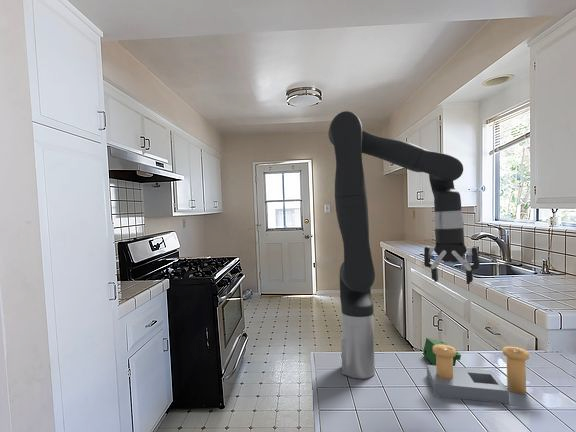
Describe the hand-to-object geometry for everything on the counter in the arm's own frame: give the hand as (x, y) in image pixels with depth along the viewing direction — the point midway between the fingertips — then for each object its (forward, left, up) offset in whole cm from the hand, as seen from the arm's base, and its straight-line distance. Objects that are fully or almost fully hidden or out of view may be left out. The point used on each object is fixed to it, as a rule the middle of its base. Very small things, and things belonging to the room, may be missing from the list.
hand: (452, 282), depth 94 cm
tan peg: (+13, -7, -26) cm, 30 cm away
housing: (0, -9, -26) cm, 27 cm away
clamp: (-2, +6, -26) cm, 27 cm away
